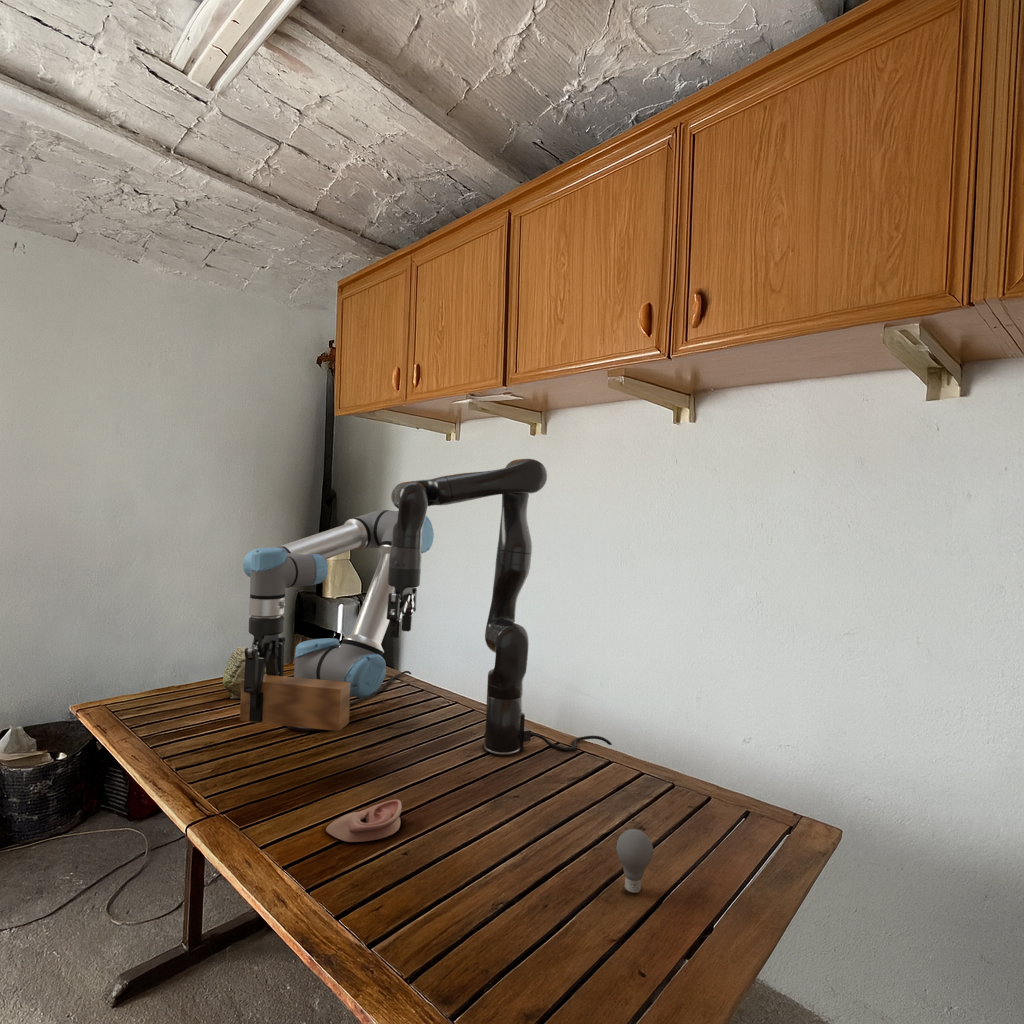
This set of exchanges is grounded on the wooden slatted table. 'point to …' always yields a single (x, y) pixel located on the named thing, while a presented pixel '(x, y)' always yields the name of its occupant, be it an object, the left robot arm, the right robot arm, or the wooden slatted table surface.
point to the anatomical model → (368, 823)
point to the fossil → (235, 672)
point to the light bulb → (634, 857)
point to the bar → (301, 702)
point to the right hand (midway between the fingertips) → (400, 634)
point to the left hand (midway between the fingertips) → (263, 716)
